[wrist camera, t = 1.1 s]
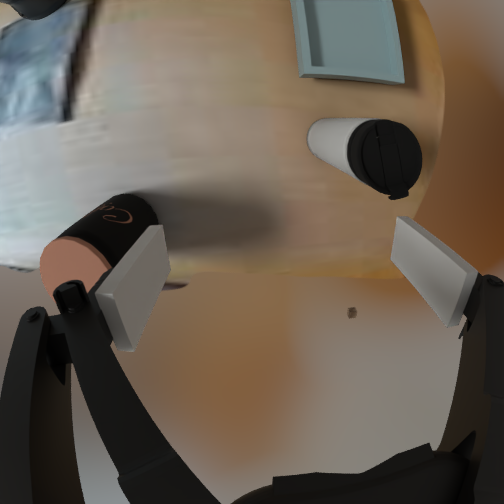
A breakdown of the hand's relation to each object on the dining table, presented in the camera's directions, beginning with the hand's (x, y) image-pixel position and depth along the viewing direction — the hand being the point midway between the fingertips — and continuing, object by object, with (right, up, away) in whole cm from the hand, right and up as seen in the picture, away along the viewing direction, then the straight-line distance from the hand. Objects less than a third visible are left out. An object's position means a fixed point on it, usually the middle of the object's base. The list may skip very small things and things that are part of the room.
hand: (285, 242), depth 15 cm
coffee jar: (-21, +4, +27) cm, 35 cm away
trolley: (+11, +32, +14) cm, 36 cm away
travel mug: (+9, +15, +22) cm, 28 cm away
